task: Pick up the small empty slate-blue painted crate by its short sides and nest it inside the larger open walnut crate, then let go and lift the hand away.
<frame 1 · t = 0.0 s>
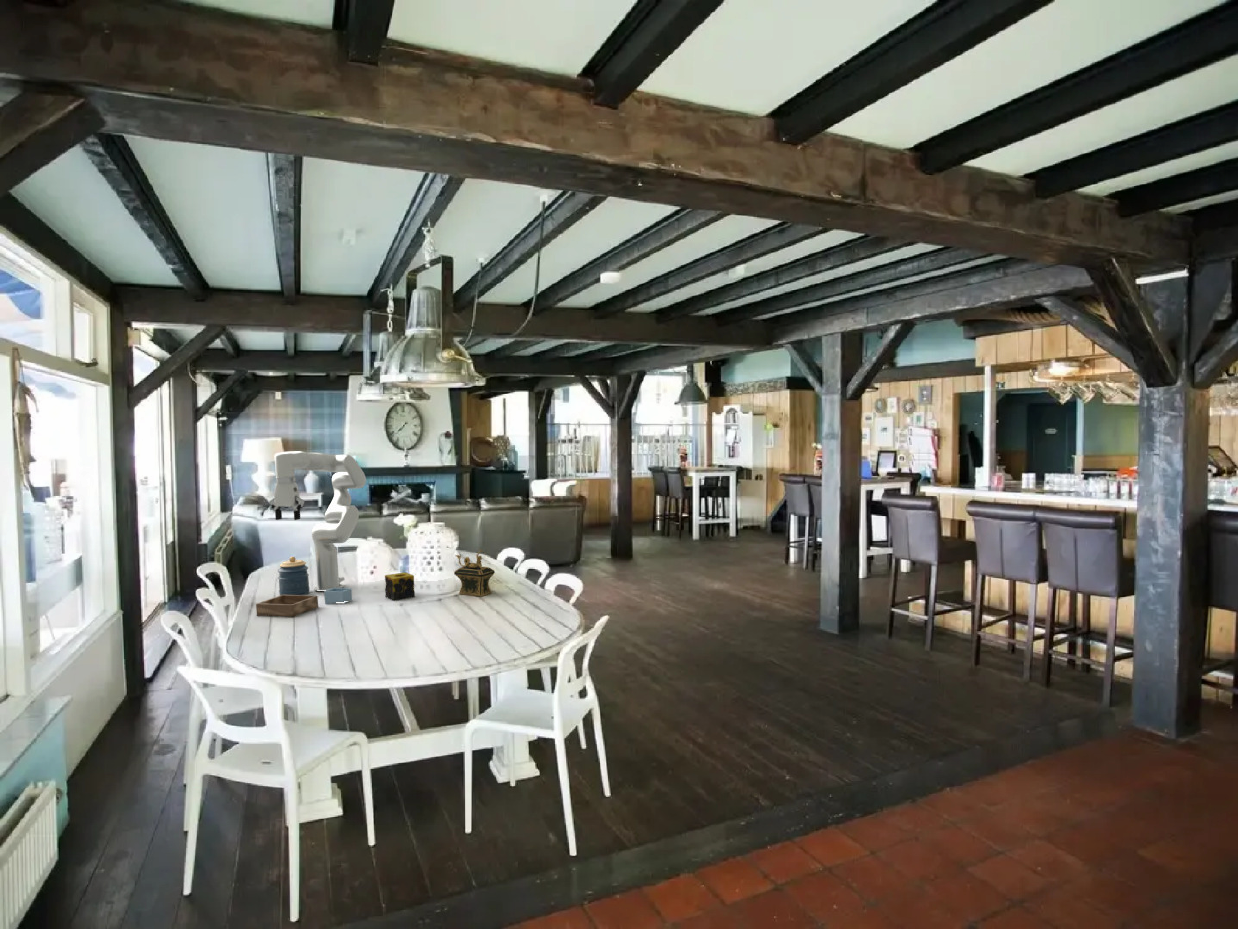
hand: (288, 519, 317), 37 cm above the table, tool pointing down, fingers open, 9 cm apart
walnut crate: (288, 611, 302), on the table
black gold cube box: (400, 597, 320), on the table
blue crate: (338, 602, 315), on the table
decorative box: (472, 593, 323), on the table
canister: (294, 594, 334), on the table
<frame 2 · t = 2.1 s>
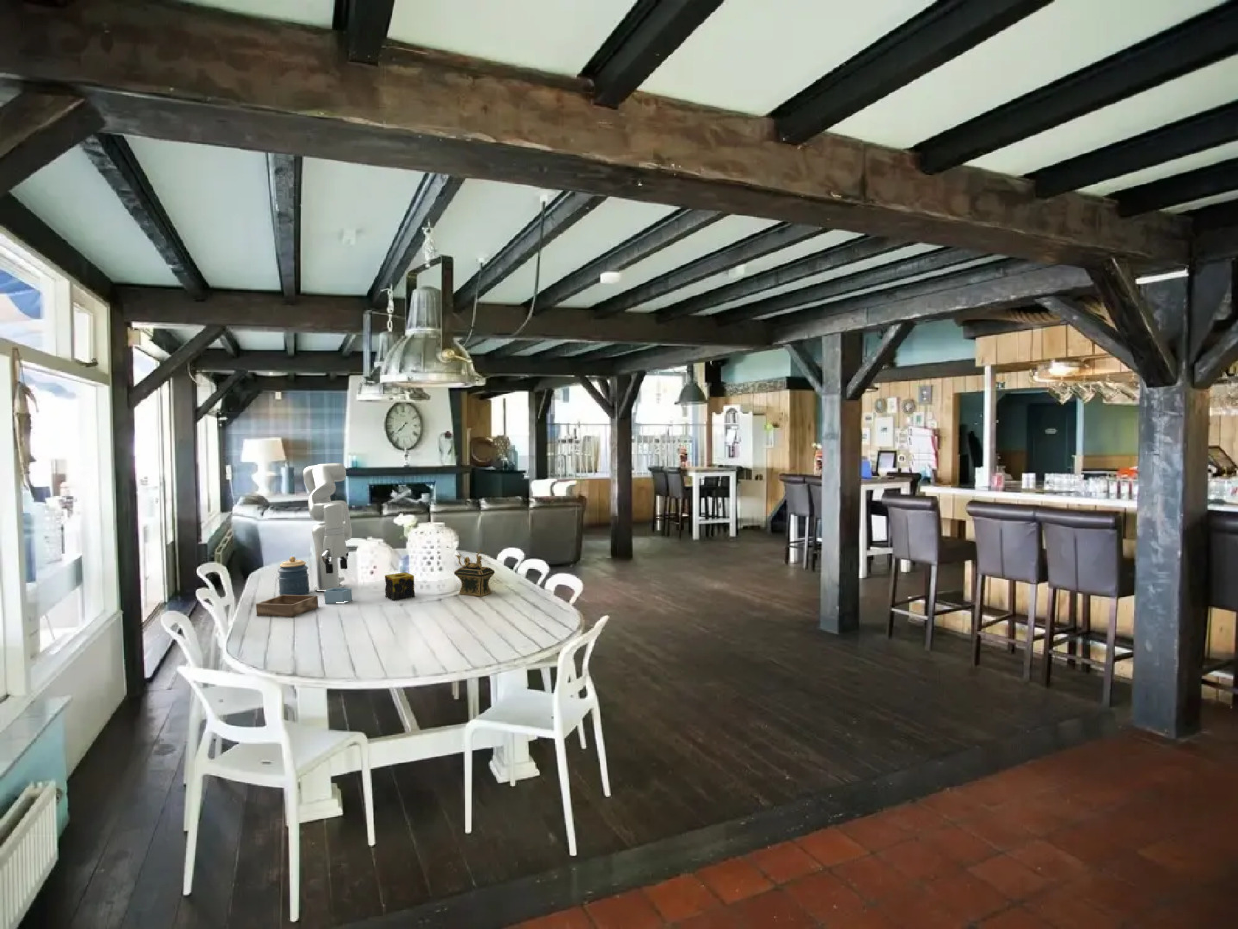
hand: (336, 571, 313), 14 cm above the table, tool pointing down, fingers open, 9 cm apart
nothing on the table moved.
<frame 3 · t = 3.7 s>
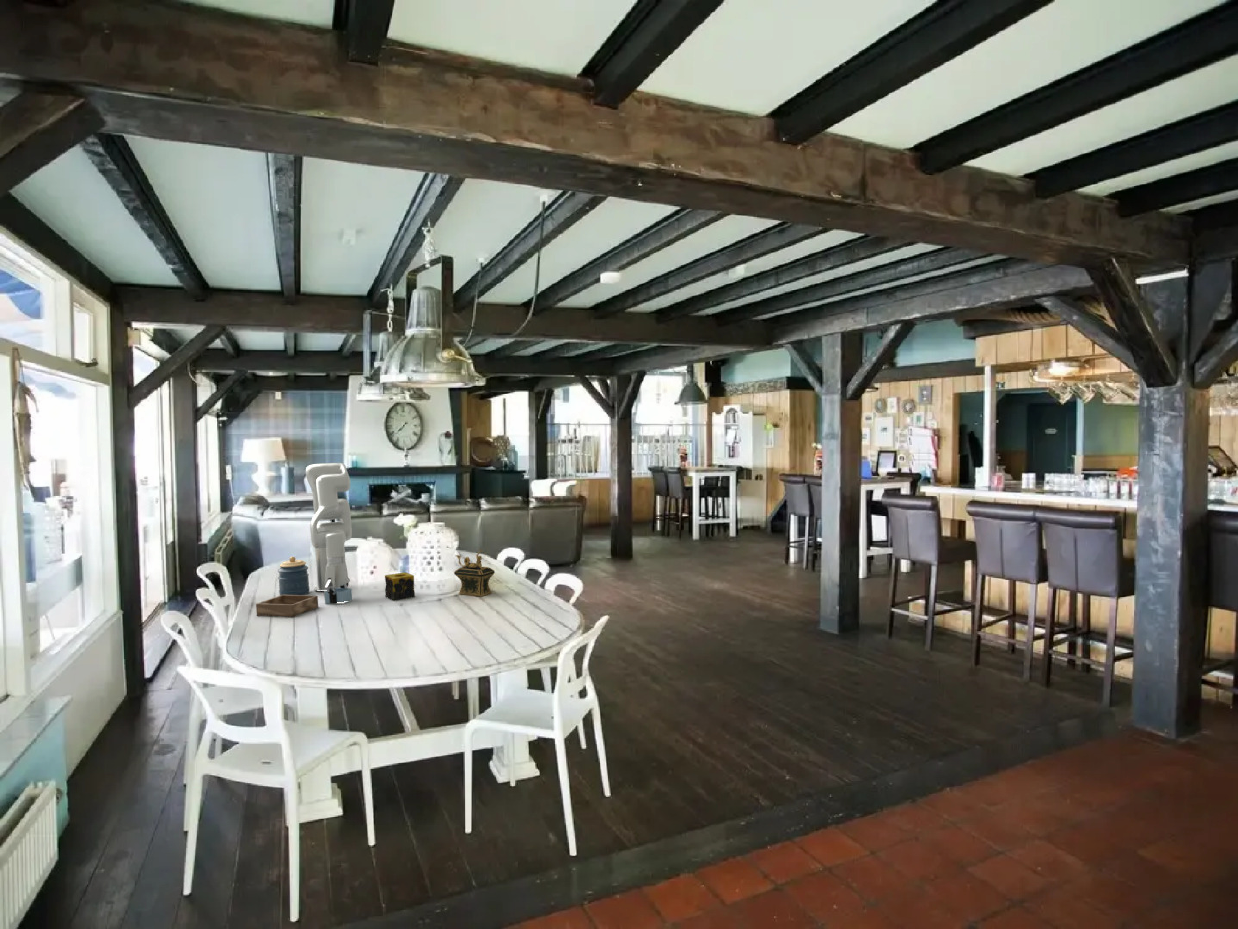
hand: (338, 600, 315), 1 cm above the table, tool pointing down, fingers closed on blue crate, 6 cm apart
blue crate: (338, 602, 315), on the table, touching gripper
everything else where it was.
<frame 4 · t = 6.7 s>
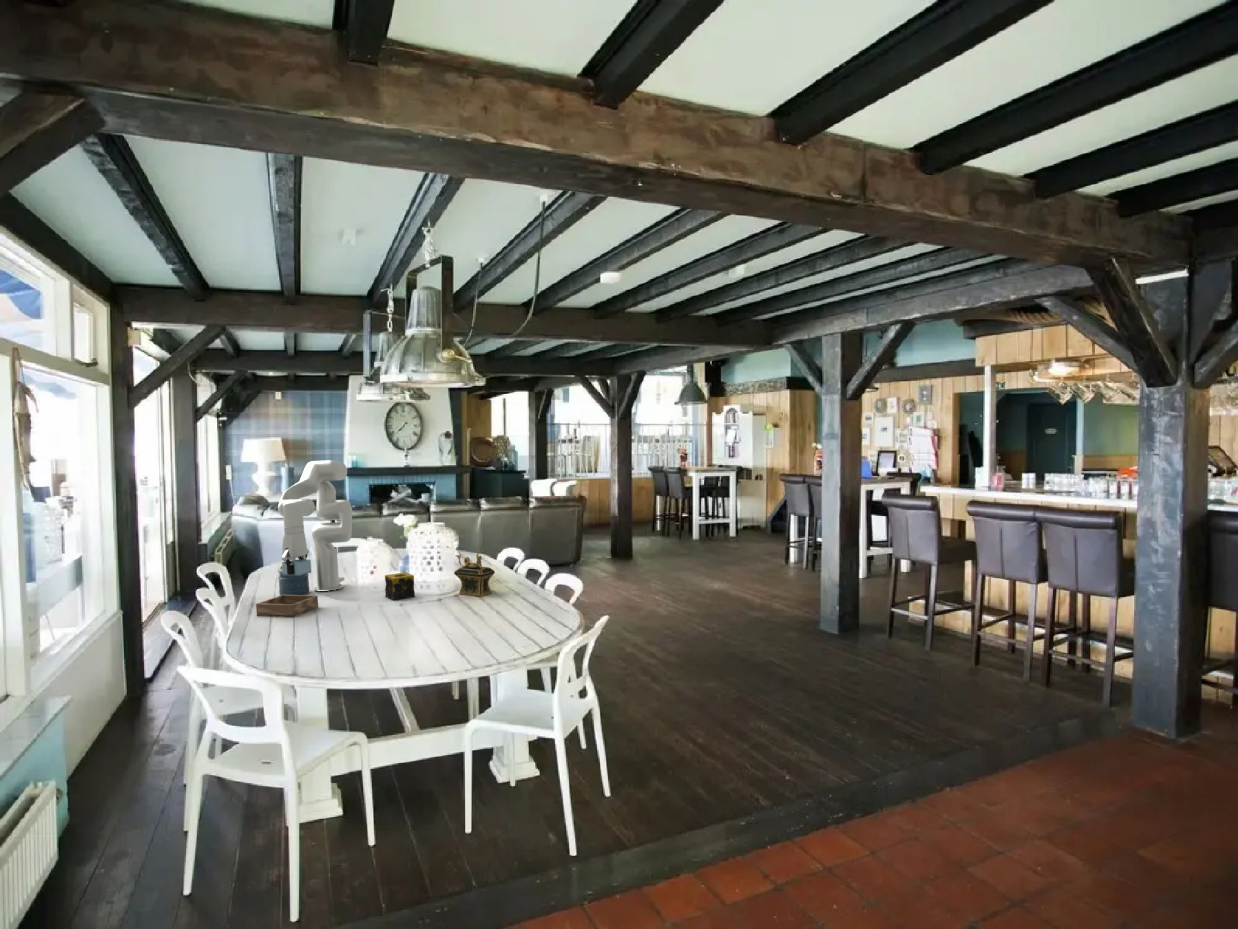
hand: (296, 572, 303), 16 cm above the table, tool pointing down, fingers closed on blue crate, 6 cm apart
blue crate: (297, 573, 303), point 15 cm above the table, touching gripper
everything else where it was.
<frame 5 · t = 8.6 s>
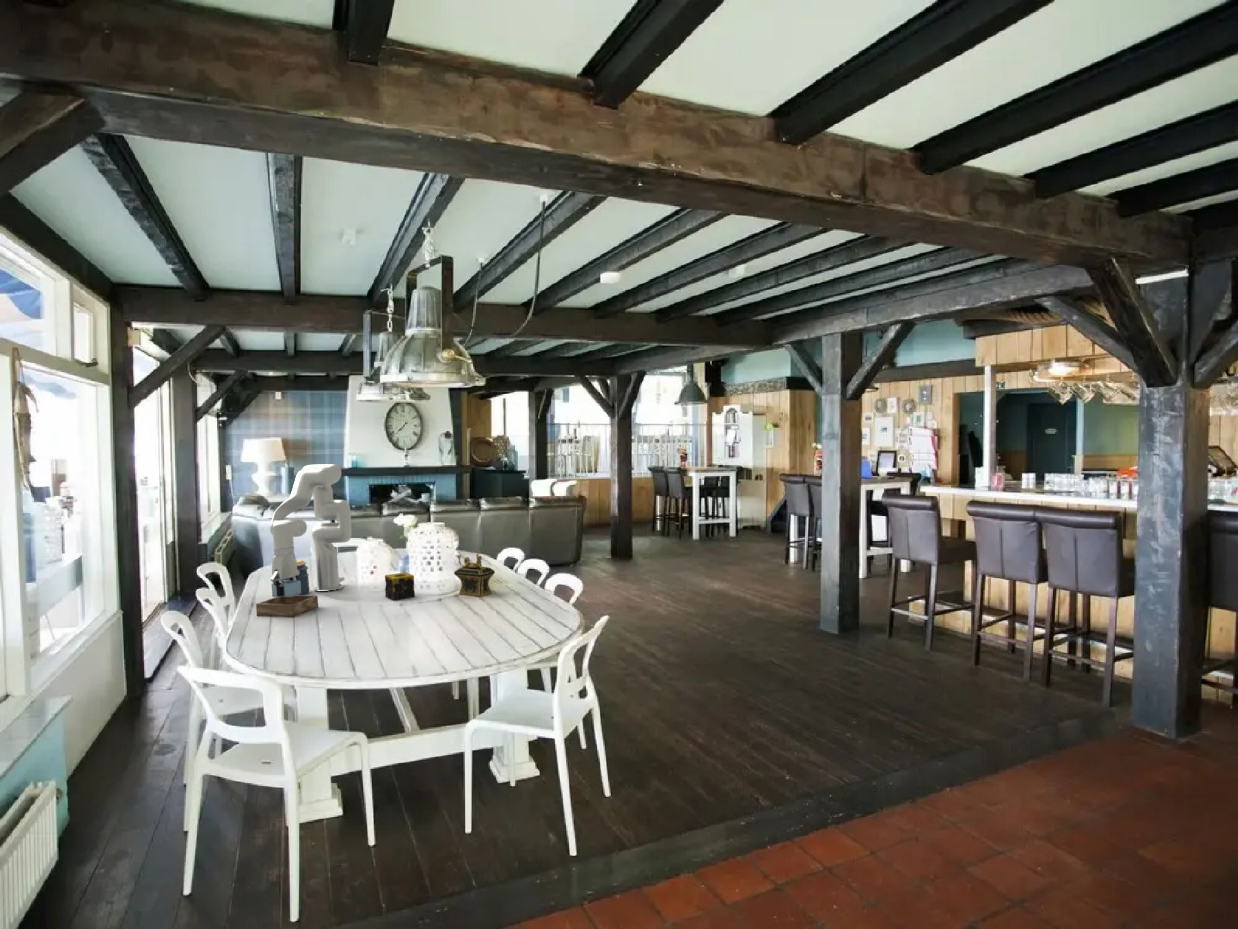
hand: (286, 593, 301), 8 cm above the table, tool pointing down, fingers closed on blue crate, 6 cm apart
blue crate: (286, 595, 301), point 7 cm above the table, touching gripper
everything else where it was.
when the fingers open (3 cm above the table, at t = 10.0 s): blue crate drops 2 cm, resting on walnut crate.
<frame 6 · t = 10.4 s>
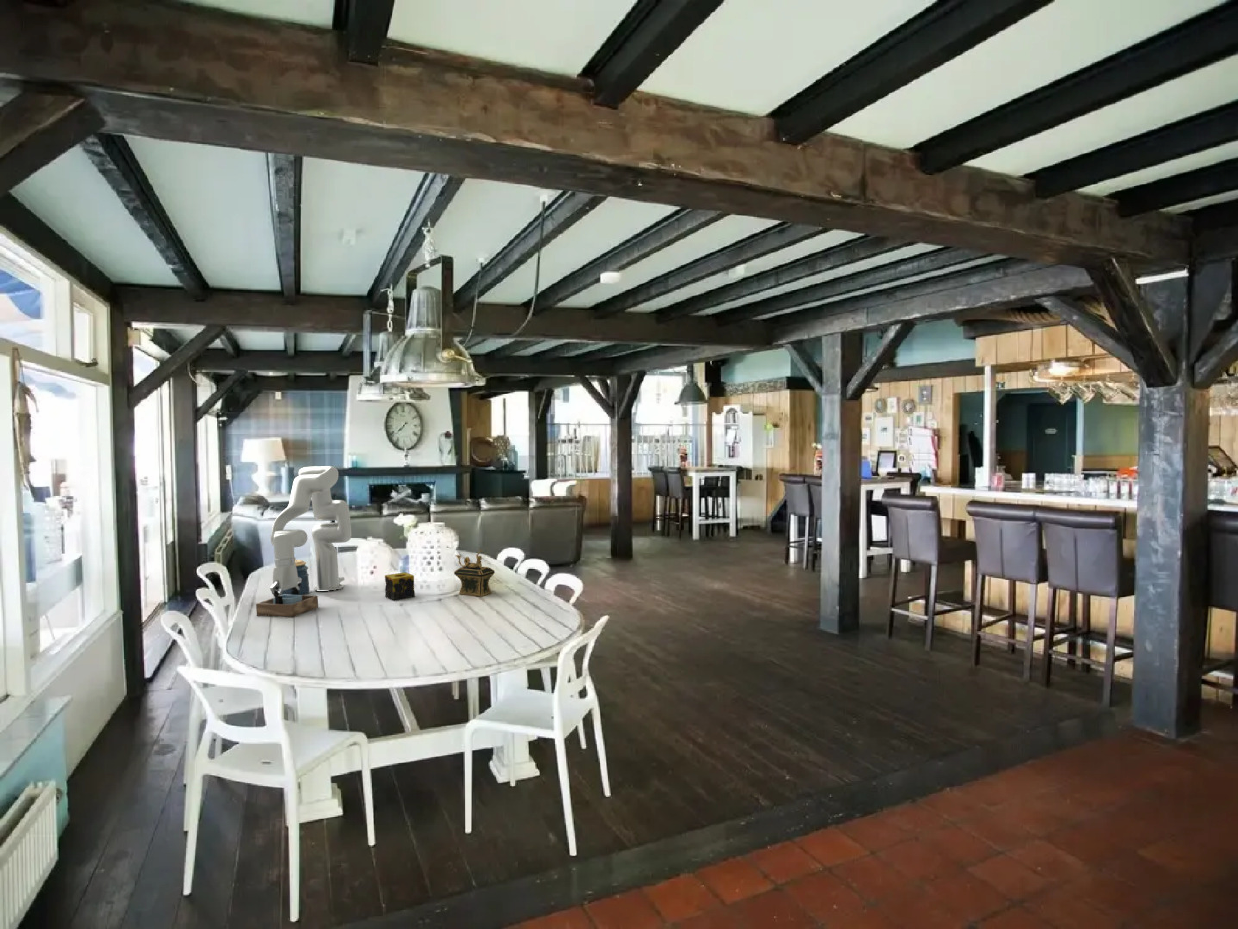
hand: (287, 602, 301), 4 cm above the table, tool pointing down, fingers open, 9 cm apart
blue crate: (288, 609, 302), point 1 cm above the table, touching walnut crate
everything else where it was.
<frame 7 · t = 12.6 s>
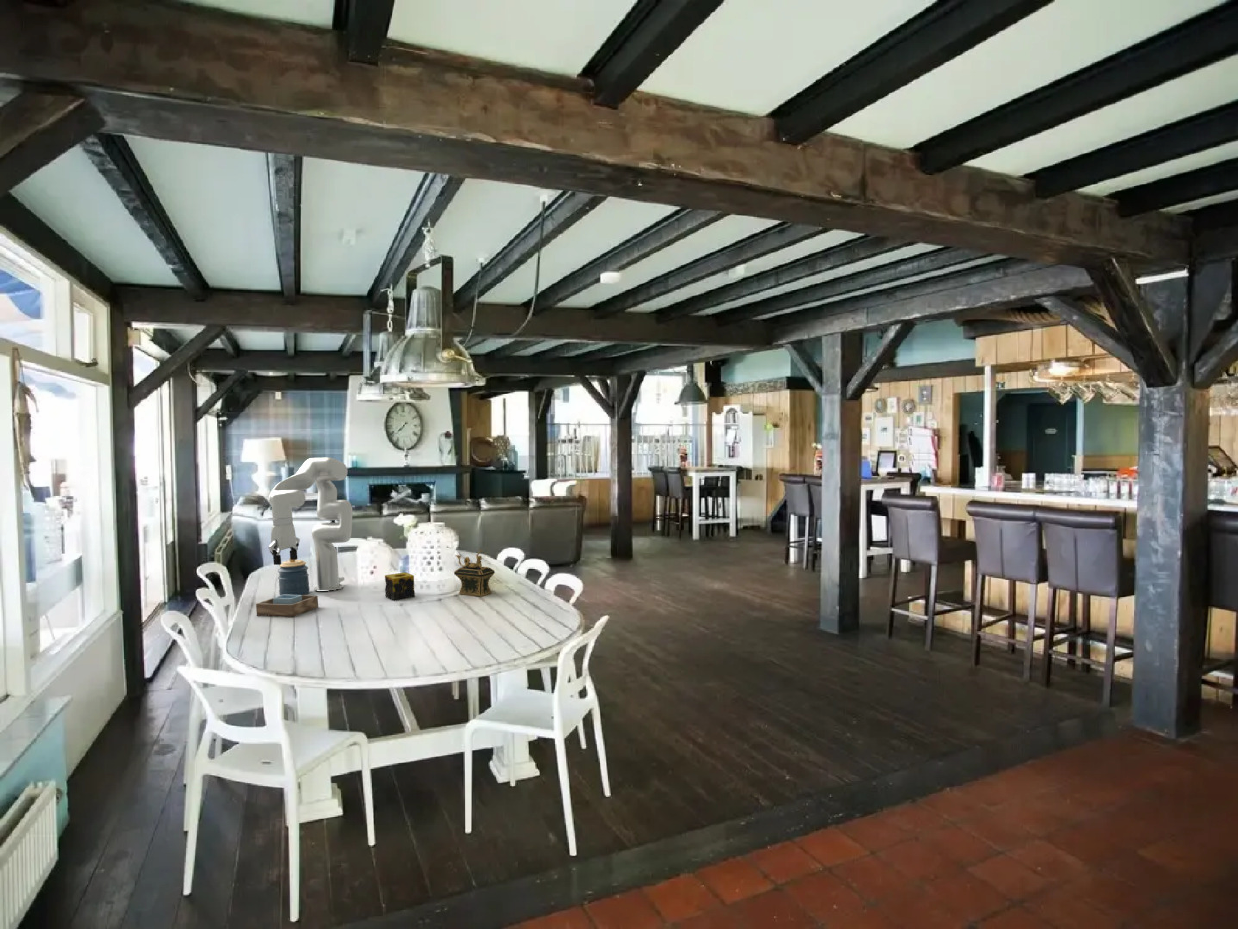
hand: (285, 562, 302), 21 cm above the table, tool pointing down, fingers open, 9 cm apart
nothing on the table moved.
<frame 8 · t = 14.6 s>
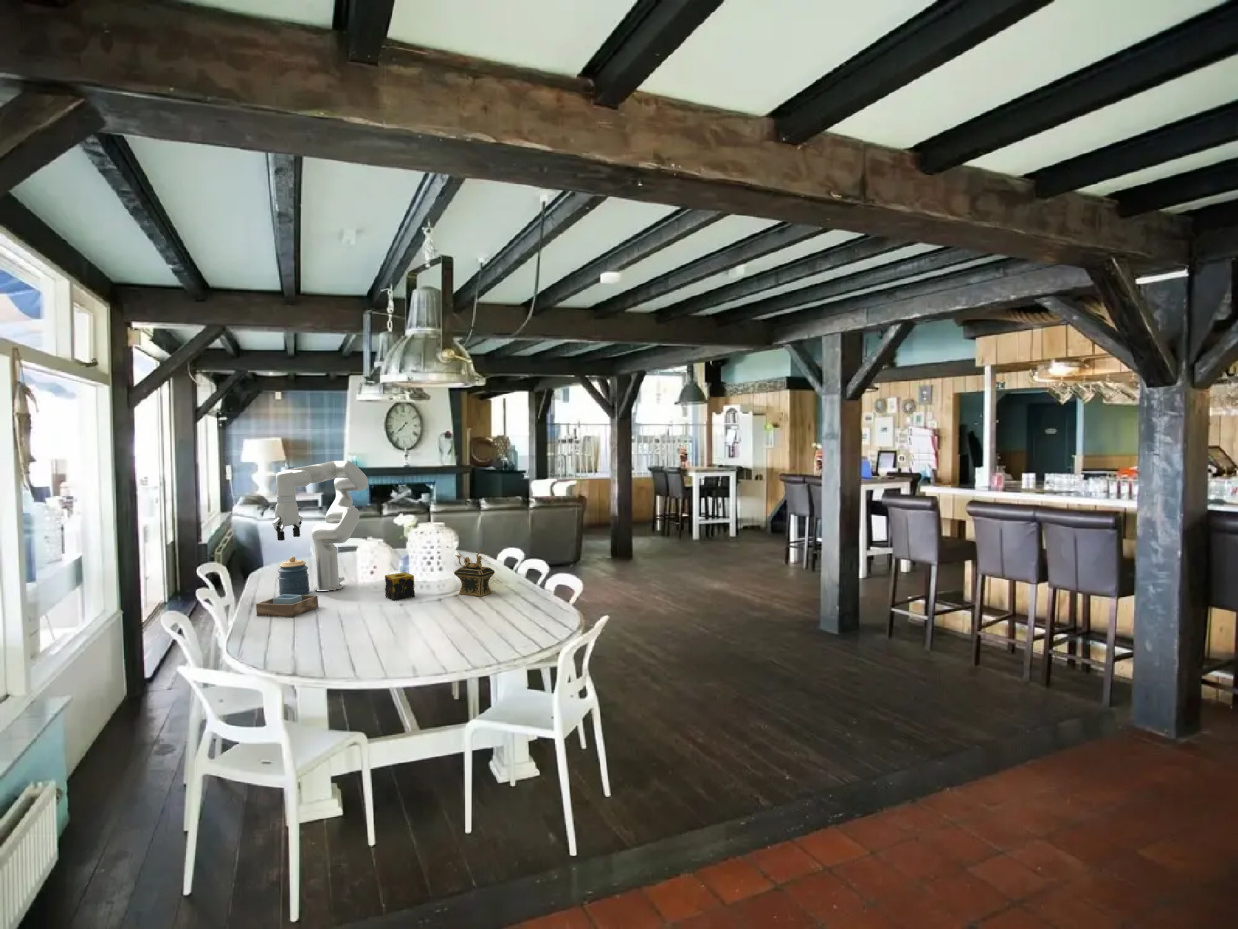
hand: (289, 538, 317), 28 cm above the table, tool pointing down, fingers open, 9 cm apart
nothing on the table moved.
at the end: blue crate inside the target area on the walnut crate (0.1 cm from its centre), point 0.8 cm above the walnut crate's base; blue crate tilted 0°; the gripper is holding nothing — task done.
